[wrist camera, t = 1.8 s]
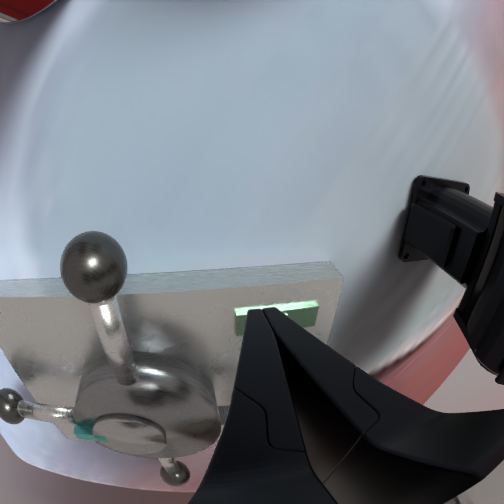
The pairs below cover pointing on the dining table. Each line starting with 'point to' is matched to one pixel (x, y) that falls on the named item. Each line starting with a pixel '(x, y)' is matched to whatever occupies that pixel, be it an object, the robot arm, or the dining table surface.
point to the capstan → (126, 377)
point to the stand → (157, 322)
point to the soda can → (21, 9)
